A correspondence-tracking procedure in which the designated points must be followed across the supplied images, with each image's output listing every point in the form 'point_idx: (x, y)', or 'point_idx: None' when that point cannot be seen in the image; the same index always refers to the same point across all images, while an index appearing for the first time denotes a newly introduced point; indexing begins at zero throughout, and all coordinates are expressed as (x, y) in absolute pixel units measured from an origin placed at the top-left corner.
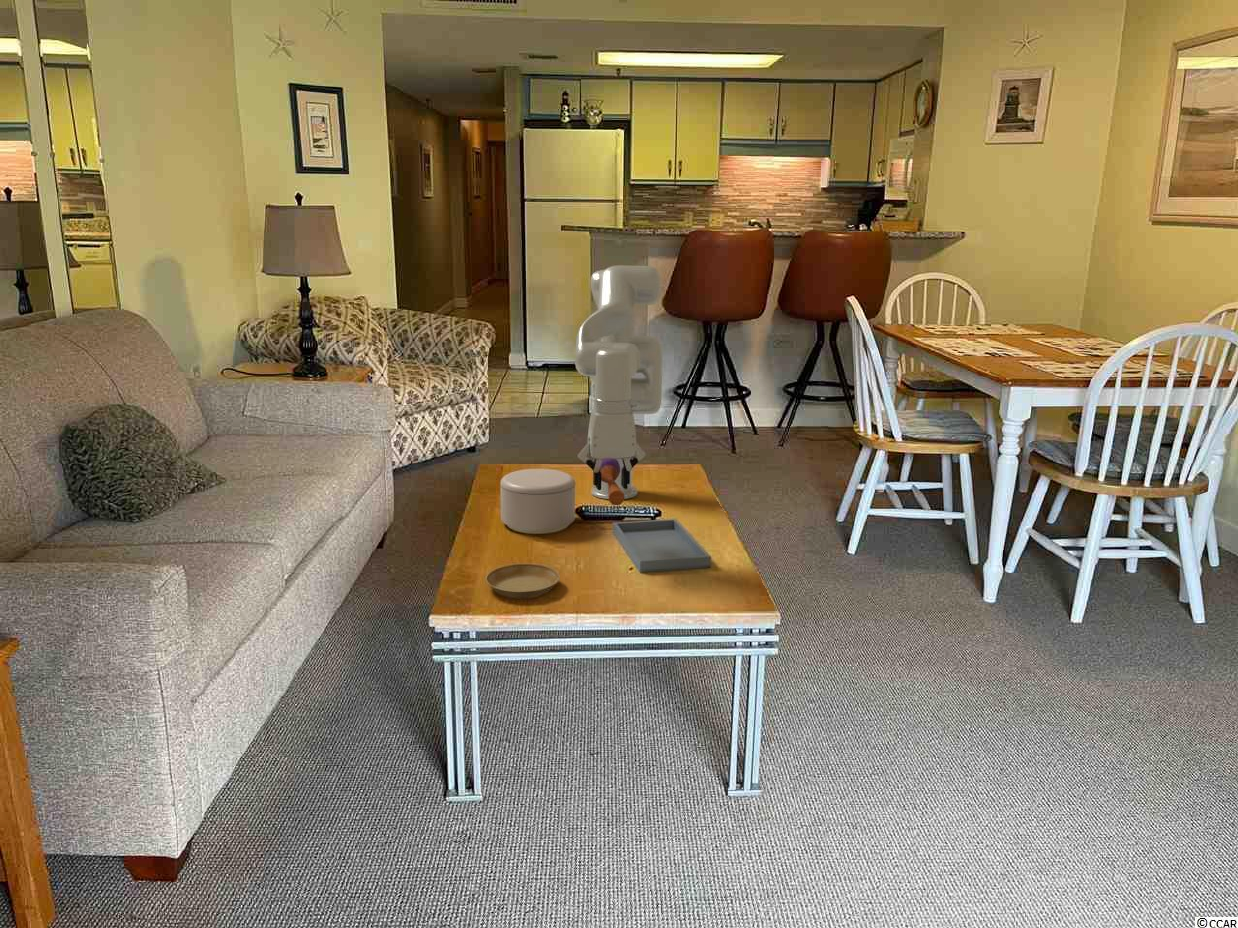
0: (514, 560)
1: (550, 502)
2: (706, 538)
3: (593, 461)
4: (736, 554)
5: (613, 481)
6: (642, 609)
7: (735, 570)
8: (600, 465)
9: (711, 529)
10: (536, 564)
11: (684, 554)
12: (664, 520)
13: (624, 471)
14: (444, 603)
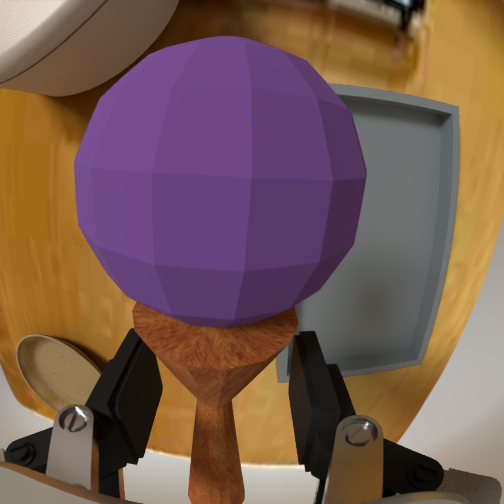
0: (32, 258)
1: (49, 72)
2: (477, 191)
3: (54, 458)
4: (479, 291)
5: (218, 458)
6: (241, 457)
7: (437, 359)
8: (122, 498)
9: (498, 140)
10: (68, 347)
11: (400, 299)
12: (432, 107)
13: (306, 458)
14: (7, 381)
